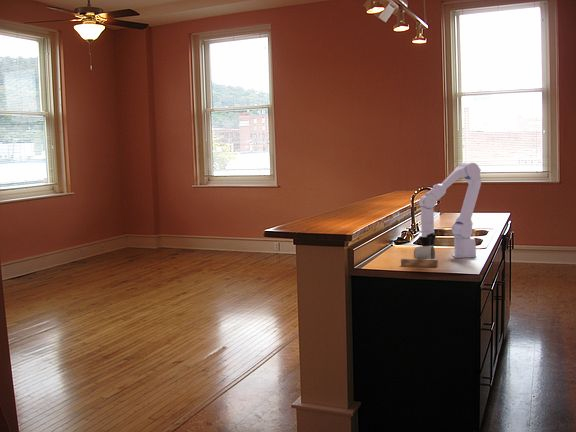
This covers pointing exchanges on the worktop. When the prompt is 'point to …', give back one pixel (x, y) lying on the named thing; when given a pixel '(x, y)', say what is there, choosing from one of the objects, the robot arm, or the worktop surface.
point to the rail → (419, 262)
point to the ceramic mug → (424, 252)
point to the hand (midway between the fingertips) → (428, 250)
